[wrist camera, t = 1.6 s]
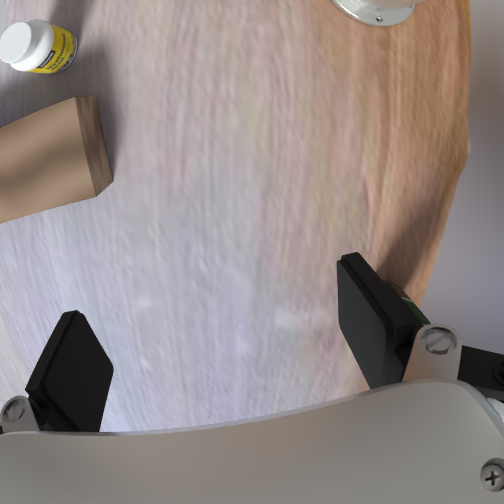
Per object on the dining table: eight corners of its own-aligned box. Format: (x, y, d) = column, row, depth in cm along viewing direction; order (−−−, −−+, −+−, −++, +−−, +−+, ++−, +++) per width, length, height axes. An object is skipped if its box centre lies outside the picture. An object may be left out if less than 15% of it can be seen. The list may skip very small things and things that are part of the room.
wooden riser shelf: (-44, 157, 27) (-71, 168, 22) (96, 96, 29) (74, 96, 23) (-26, 223, 32) (-50, 240, 27) (113, 181, 33) (95, 196, 28)
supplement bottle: (66, 79, 27) (21, 76, 18) (32, 68, 25) (-17, 65, 17) (86, 35, 25) (47, 18, 16) (51, 26, 24) (7, 11, 15)
